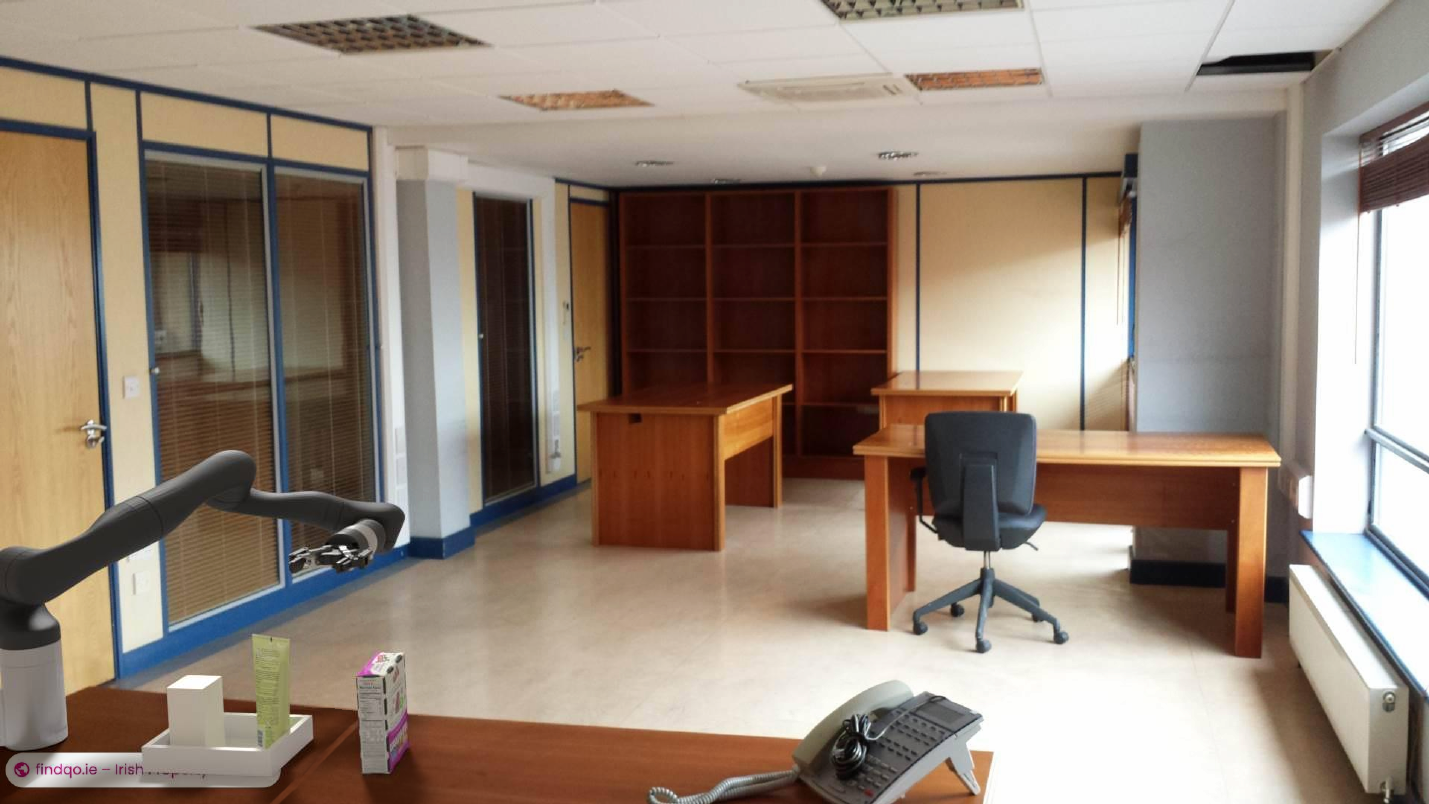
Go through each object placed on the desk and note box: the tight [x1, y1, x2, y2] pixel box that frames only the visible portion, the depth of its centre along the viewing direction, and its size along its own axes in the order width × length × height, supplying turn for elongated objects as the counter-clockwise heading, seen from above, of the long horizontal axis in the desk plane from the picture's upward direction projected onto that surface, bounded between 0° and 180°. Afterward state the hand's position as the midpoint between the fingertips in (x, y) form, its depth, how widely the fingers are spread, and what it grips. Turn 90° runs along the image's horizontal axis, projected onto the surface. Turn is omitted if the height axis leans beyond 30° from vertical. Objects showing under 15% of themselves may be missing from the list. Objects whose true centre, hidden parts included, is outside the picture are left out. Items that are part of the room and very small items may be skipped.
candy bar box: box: [355, 651, 410, 775], centre depth 191 cm, size 11×5×16 cm, turn 179°
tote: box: [141, 711, 314, 777], centre depth 192 cm, size 21×15×5 cm
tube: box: [251, 633, 291, 749], centre depth 191 cm, size 6×5×20 cm
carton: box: [166, 674, 225, 747], centre depth 192 cm, size 6×6×12 cm
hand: (314, 568), depth 211 cm, fingers open, 8 cm apart
